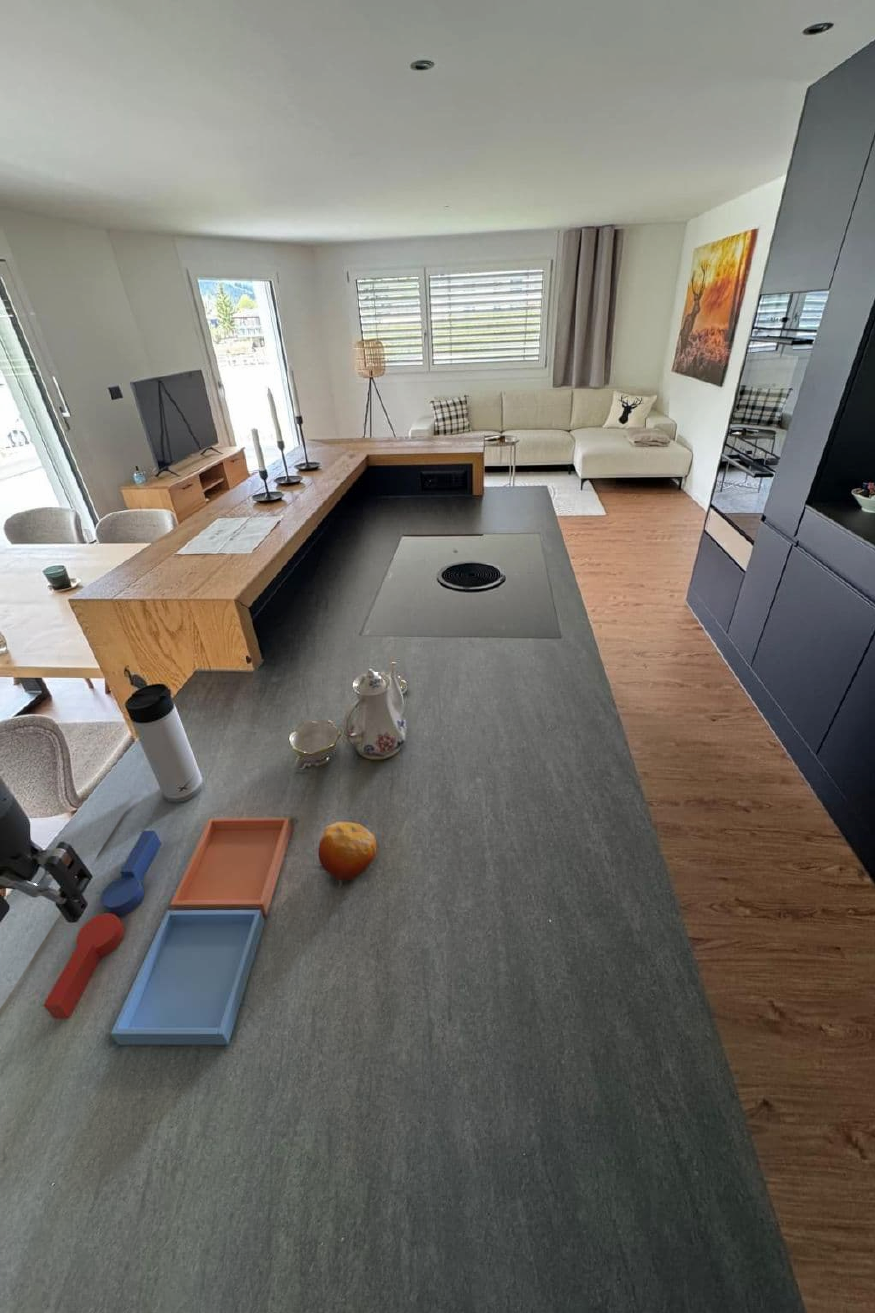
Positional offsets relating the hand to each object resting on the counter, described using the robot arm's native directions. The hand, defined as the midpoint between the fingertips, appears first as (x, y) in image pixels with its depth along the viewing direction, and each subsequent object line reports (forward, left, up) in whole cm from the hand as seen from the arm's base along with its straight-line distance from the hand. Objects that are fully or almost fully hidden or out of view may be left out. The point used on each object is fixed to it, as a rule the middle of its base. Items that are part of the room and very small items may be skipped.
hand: (39, 916), depth 60 cm
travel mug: (0, +31, -13) cm, 33 cm away
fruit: (+30, +16, -13) cm, 36 cm away
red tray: (+14, +15, -13) cm, 24 cm away
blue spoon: (0, +14, -13) cm, 19 cm away
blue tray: (+14, 0, -13) cm, 19 cm away
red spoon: (0, +2, -13) cm, 13 cm away
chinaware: (+29, +43, -13) cm, 53 cm away
